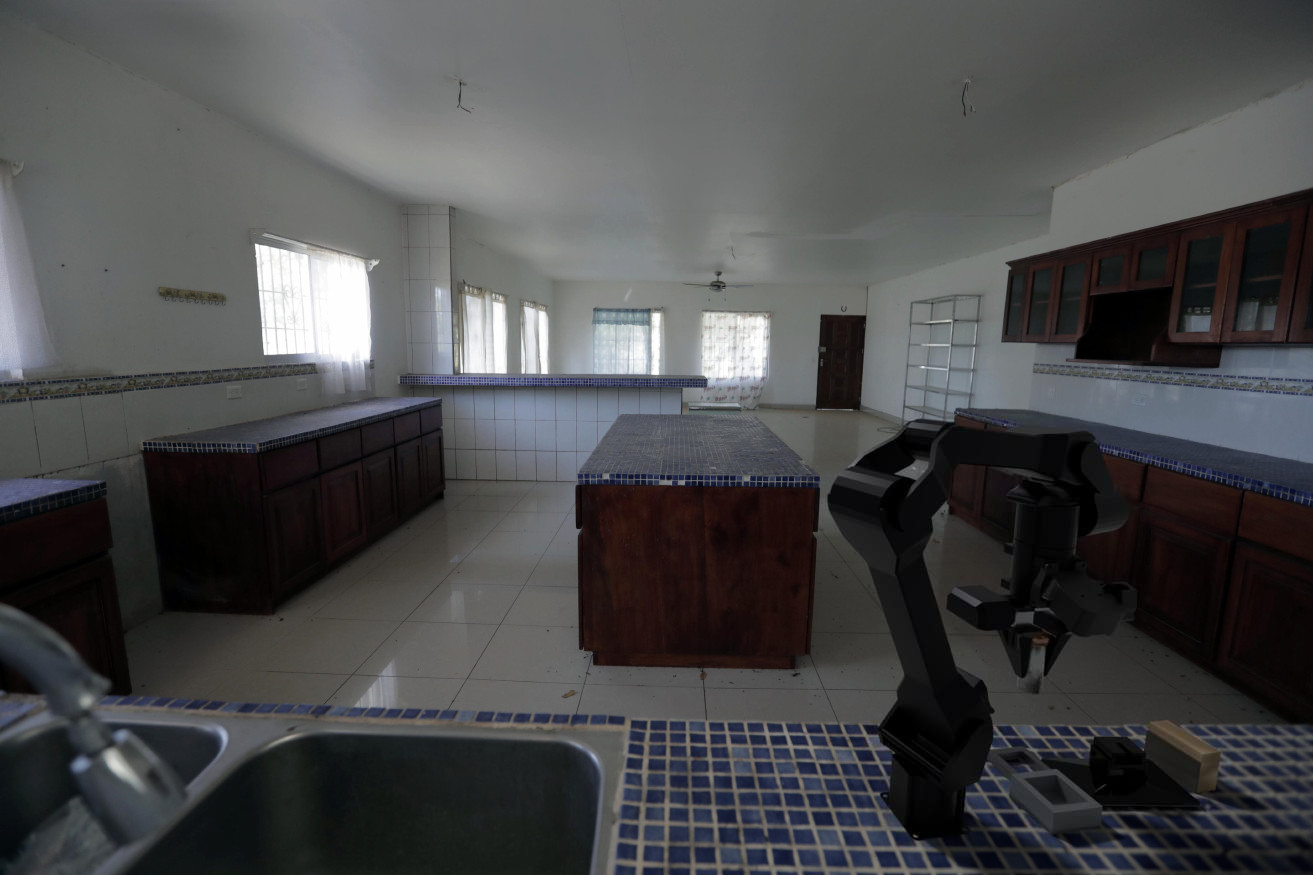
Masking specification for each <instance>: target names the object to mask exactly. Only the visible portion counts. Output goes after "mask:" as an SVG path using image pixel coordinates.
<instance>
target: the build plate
mask: <svg viewBox="0 0 1313 875" xmlns="http://www.w3.org/2000/svg"><path fill="white" fill-rule="evenodd" d="M1040 760H1041V761H1042V762H1043V763H1044V764H1046V765H1047V766H1048V767H1049V768H1050V769H1057V770H1058V771H1060V772H1061V773H1062V774H1063V775H1065V776H1066V777H1067V778H1068V779H1069V780H1071V781H1072V782H1073V783H1074V784H1076V785H1077V786H1078V787H1079V788H1080V789H1082V790H1083V791H1084V792H1085V793H1087V794H1088V795H1089V796H1090V797H1091V798H1093V799H1094V800H1095V801H1096V802H1098V803H1099V804H1100V805H1101V806H1102V807H1104V806H1105V807H1107V806H1109V807H1111V806H1112V807H1113V806H1115V807H1117V806H1118V807H1120V806H1121V807H1125V806H1126V807H1127V806H1128V807H1201V802H1200V801H1199V800H1198V799H1197V798H1196V797H1195V796H1194V795H1193V794H1191V793H1190V792H1188V791H1189V790H1188V791H1187V789H1186V788H1185V787H1183V786H1182V785H1180V784H1178V783H1177V782H1176V781H1175V780H1174V779H1172V778H1171V777H1170V776H1169V775H1168V774H1167V773H1165V772H1164V771H1163V770H1162V769H1161V768H1160V767H1158V766H1157V765H1156V764H1155V763H1154V762H1153V761H1151V760H1150V759H1146V753H1145V752H1144V749H1142V748H1141V747H1139V745H1137V744H1136V743H1135V742H1134V741H1132V740H1131V739H1130V738H1129V737H1128V736H1121V735H1120V736H1119V735H1118V736H1113V735H1112V736H1110V735H1109V736H1106V735H1104V736H1102V735H1101V736H1100V735H1099V736H1098V735H1097V736H1096V735H1095V736H1093V743H1090V748H1089V756H1088V757H1087V758H1085V757H1084V758H1082V757H1081V758H1078V757H1077V758H1073V757H1072V758H1070V757H1064V758H1062V757H1054V758H1053V757H1042V758H1040Z"/></svg>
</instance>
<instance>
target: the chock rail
mask: <svg viewBox="0 0 1313 875" xmlns="http://www.w3.org/2000/svg"><path fill="white" fill-rule="evenodd" d="M1143 747H1144V748H1143V751H1144V752H1145V753H1146V759H1150V760H1151V761H1153V762H1154V763H1155V764H1156V765H1157V766H1158V767H1160V768H1161V769H1162V770H1163V771H1164V772H1165V773H1167V774H1168V775H1169V776H1170V777H1171V778H1172V779H1174V780H1175V781H1176V782H1177V783H1178V784H1179V785H1181V786H1182V787H1183V788H1184V789H1186V790H1188V791H1190V792H1192V793H1193V794H1197V793H1198V794H1199V793H1204V792H1205V791H1206V792H1211V790H1212V791H1216V787H1217V781H1218V774H1219V767H1220V760H1221V756H1222V751H1220V750H1219V749H1217V748H1215V747H1213V746H1211V745H1210V744H1208V743H1206V742H1205V741H1204V740H1202V739H1200V738H1198V737H1197V736H1196V735H1195V736H1194V735H1193V734H1192V733H1190V732H1188V731H1186V729H1183V728H1182V727H1179V726H1177V724H1175V723H1173V722H1171V721H1169V720H1168V719H1165V720H1154V721H1149V724H1148V729H1146V733H1145V738H1144V746H1143Z"/></svg>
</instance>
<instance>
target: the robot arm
mask: <svg viewBox="0 0 1313 875" xmlns="http://www.w3.org/2000/svg"><path fill="white" fill-rule="evenodd" d="M1095 440H1096V436H1095V434H1094V433H1092V432H1091V431H1088V430H1082V429H1074V428H1073V429H1072V428H1063V427H1055V426H1045V425H1037V424H1036V425H1035V424H1024V425H1017V426H1010V428H1009V429H1007V430H997V429H991V428H983V427H974V426H967V425H961V424H959V423H957V422H954V421H949V420H948V421H947V420H940V419H939V420H938V419H933V418H932V419H931V418H923V417H921V418H916V419H914V420H910V421H908V422H906V423H905V424H904V425H903V426H902V427H901V428H900V429H899V430H898V431H897V433H896V434H895V435H893V436H892V437H890V438H888V439H886V440H884V441H882V442H880V443H879V444H877V445H874V446H873V447H871V448H869V449H867V450H865V451H864V452H862V453H861V454H859V455H858V456H857V458H855V459H854V460H853V461H852V463H850V464H849V466H847V468H844V470H842V471H841V472H840V473H839V474H838V475H837V477H836V478H835V480H834V481H833V483H832V485H831V487H830V491H829V492H828V493H827V497H826V501H827V502H826V503H827V507H828V511H829V514H830V515H831V517H832V519H833V522H834V523H835V525H836V527H837V529H838V530H839V532H840V533H841V535H842V537H843V538H844V539H845V540H846V541H847V542H848V544H850V546H851V547H852V548H853V549H854V550H855V551H856V553H857V554H858V555H859V556H860V557H861V558H862V559H863V560H864V561H865V562H866V564H867V567H868V570H869V572H870V576H871V578H872V582H873V585H874V587H875V590H876V593H877V597H878V599H879V601H880V605H881V608H882V611H883V614H884V617H885V621H886V623H887V626H888V629H889V632H890V636H891V638H892V641H893V644H894V647H895V651H896V652H897V656H898V659H899V662H900V664H901V668H902V671H903V677H902V679H901V680H900V682H899V684H898V685H897V688H896V690H895V691H896V697H897V700H896V701H895V702H894V703H893V705H892V707H891V708H890V710H889V711H888V712H887V714H886V715H885V717H884V718H883V719H882V721H881V722H880V724H879V725H878V727H877V736H878V738H879V742H880V744H881V745H882V746H884V747H886V748H887V749H889V750H891V751H892V752H893V753H891V763H890V775H889V776H890V777H889V788H888V791H882V792H880V793H879V796H880V798H881V799H882V801H883V803H885V805H886V806H887V807H888V809H889V810H890V812H891V813H892V814H893V816H894V817H895V818H896V820H898V822H899V824H901V826H902V828H903V829H904V831H906V833H907V834H908V836H910V838H911V839H912V840H914V841H923V840H932V839H938V838H939V839H941V838H946V837H954V836H962V835H963V836H964V835H969V834H971V833H972V830H971V828H970V827H969V826H968V824H966V822H965V821H964V820H963V819H962V818H961V817H964V815H965V806H966V797H967V796H966V795H967V787H969V786H972V785H974V784H977V783H979V782H980V781H981V778H982V775H983V772H984V769H985V766H986V763H987V761H988V760H987V757H988V754H989V751H990V750H991V747H992V744H993V741H994V724H993V718H992V716H991V714H994V713H995V712H996V710H995V708H993V707H992V705H991V703H990V700H989V699H990V698H989V691H988V687H987V685H986V683H985V682H984V680H983V679H981V678H979V677H978V676H976V675H973V674H971V673H970V672H968V671H966V670H965V669H963V668H961V667H958V666H957V665H956V662H955V659H954V655H953V652H952V648H951V646H950V645H951V644H950V641H949V639H948V635H947V631H946V629H945V625H944V621H943V618H942V615H941V612H940V608H939V604H938V602H937V599H936V595H935V594H936V593H935V591H934V588H933V585H932V581H931V577H930V574H929V571H928V568H927V564H926V561H925V557H924V553H925V549H926V547H927V545H928V543H929V541H930V539H931V537H932V536H933V533H934V525H933V519H932V518H933V517H934V516H935V514H936V513H937V512H938V511H939V510H940V509H941V508H942V506H943V505H945V503H946V502H947V501H948V500H949V498H950V495H951V494H950V493H951V486H952V485H951V484H952V477H953V476H952V475H953V471H955V469H956V468H957V467H958V466H960V465H967V466H969V465H970V466H983V467H992V468H993V467H994V468H1001V469H1002V468H1003V469H1004V470H1006V471H1009V472H1011V473H1014V474H1016V475H1020V476H1023V477H1026V478H1027V479H1028V480H1026V479H1022V480H1021V481H1020V483H1019V484H1018V485H1017V486H1016V487H1014V488H1013V489H1010V490H1009V492H1007V494H1006V495H1005V499H1006V500H1007V501H1009V502H1013V503H1016V510H1015V519H1014V520H1015V521H1014V531H1013V541H1012V542H1004V545H1003V553H1005V554H1008V555H1010V556H1011V563H1010V564H1011V565H1010V573H1009V574H1010V575H1009V576H1008V577H1001V579H1000V588H1002V589H1005V590H1006V591H1008V594H999V593H997V592H995V591H993V590H991V589H989V588H988V587H985V586H984V585H982V584H978V585H977V584H975V585H963V586H962V585H960V586H959V585H958V586H953V587H952V588H950V590H948V592H947V596H946V607H945V609H946V611H949V612H950V613H952V614H954V615H955V616H956V617H958V618H959V619H961V620H963V621H964V622H966V623H968V624H969V625H971V626H972V627H974V628H976V629H977V630H980V631H985V632H990V631H991V632H993V631H996V632H997V634H998V636H999V638H1000V641H1001V644H1002V645H1003V647H1004V650H1005V653H1006V654H1007V658H1008V659H1009V663H1010V665H1011V667H1012V670H1013V672H1014V674H1015V675H1016V677H1020V678H1025V676H1026V672H1027V669H1028V663H1029V656H1030V649H1031V642H1032V638H1033V637H1035V636H1036V635H1038V634H1039V633H1041V632H1042V631H1043V630H1044V631H1046V632H1048V633H1049V634H1050V638H1049V644H1048V645H1047V646H1046V655H1045V665H1044V674H1043V677H1046V676H1048V675H1049V673H1050V671H1051V669H1052V668H1053V666H1054V664H1055V662H1056V660H1057V659H1058V658H1059V656H1060V654H1061V653H1062V651H1063V649H1064V648H1065V646H1066V644H1067V643H1068V641H1069V640H1070V639H1071V638H1072V636H1073V635H1076V636H1077V637H1081V638H1089V637H1091V636H1100V635H1105V636H1112V635H1114V634H1115V632H1116V631H1117V629H1118V627H1119V625H1120V624H1121V622H1128V621H1129V622H1130V621H1134V620H1135V619H1136V614H1135V612H1136V610H1137V608H1138V605H1137V604H1138V590H1137V589H1136V588H1135V587H1134V586H1133V585H1131V584H1130V583H1129V582H1128V581H1112V582H1109V583H1106V584H1105V582H1104V581H1103V580H1095V579H1092V578H1091V577H1089V576H1088V573H1087V566H1088V564H1087V562H1086V557H1084V556H1081V555H1078V554H1076V550H1077V538H1082V537H1086V536H1091V535H1097V534H1102V533H1103V534H1104V533H1108V532H1112V531H1116V530H1119V529H1120V528H1122V527H1123V526H1124V525H1126V523H1127V521H1128V520H1129V516H1130V513H1131V512H1130V509H1131V508H1130V506H1129V503H1128V500H1127V499H1126V496H1125V495H1124V494H1123V493H1122V492H1121V491H1120V490H1119V489H1118V488H1116V487H1115V485H1114V484H1113V482H1114V481H1113V480H1114V476H1113V475H1111V474H1110V472H1109V469H1108V466H1107V464H1106V461H1105V457H1104V456H1103V451H1102V450H1101V449H1102V448H1101V447H1100V444H1098V443H1097V442H1095ZM917 461H921V462H925V463H928V466H927V469H925V471H924V472H923V473H922V474H921V475H920V476H919V477H918V479H914V478H911V477H909V476H905V475H900V474H897V473H899V472H901V471H903V470H905V469H906V468H908V467H910V466H911V465H913V464H914V463H915V462H917ZM884 795H885V796H884ZM965 829H967V830H965ZM914 835H915V836H917V837H915V836H914Z"/></svg>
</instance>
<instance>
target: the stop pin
mask: <svg viewBox="0 0 1313 875" xmlns="http://www.w3.org/2000/svg"><path fill="white" fill-rule="evenodd" d="M1049 638H1050V634H1049V633H1048V632H1046V631H1044V630H1043V631H1042V632H1041V633H1039V634H1038V635H1036V636H1035V637H1033V638H1032V642H1031V649H1030V656H1029V663H1028V669H1027V672H1026V676H1025V678H1020V677H1018V676H1016V677H1017V679H1016V680H1017V681H1016V687H1017V688H1018V689H1019V690H1021V691H1022V692H1024V693H1027V694H1030V695H1040V694H1041V693H1043V683H1044V682H1043V681H1044V676H1043V674H1044V665H1045V655H1046V646H1047V645H1048V644H1049Z"/></svg>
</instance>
